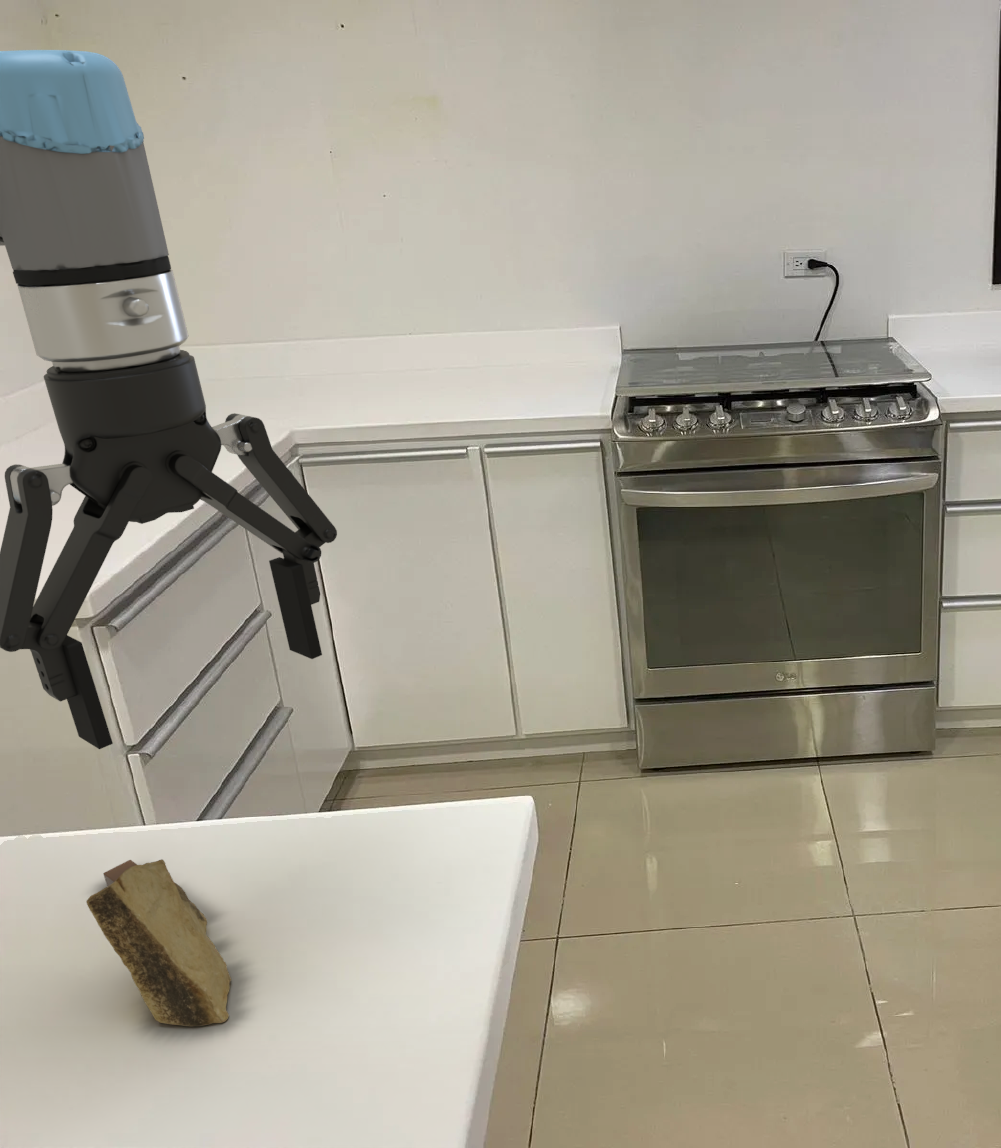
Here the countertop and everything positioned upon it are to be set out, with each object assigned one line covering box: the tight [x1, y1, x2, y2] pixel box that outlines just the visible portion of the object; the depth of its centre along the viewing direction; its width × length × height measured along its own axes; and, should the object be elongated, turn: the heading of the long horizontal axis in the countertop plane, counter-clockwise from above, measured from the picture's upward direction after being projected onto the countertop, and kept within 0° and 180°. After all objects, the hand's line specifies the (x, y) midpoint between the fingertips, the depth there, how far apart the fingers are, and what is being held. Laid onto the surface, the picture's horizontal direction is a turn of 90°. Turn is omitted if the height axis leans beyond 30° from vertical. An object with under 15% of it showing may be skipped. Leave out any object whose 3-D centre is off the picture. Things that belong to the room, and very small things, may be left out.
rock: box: [86, 859, 232, 1027], centre depth 73 cm, size 11×9×10 cm
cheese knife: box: [103, 859, 138, 887], centre depth 81 cm, size 10×2×1 cm, turn 53°
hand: (208, 693), depth 70 cm, fingers open, 13 cm apart
